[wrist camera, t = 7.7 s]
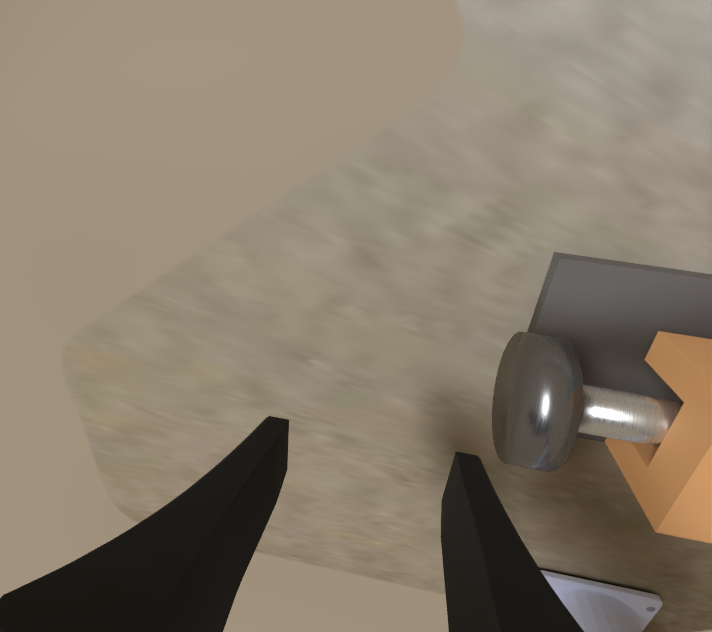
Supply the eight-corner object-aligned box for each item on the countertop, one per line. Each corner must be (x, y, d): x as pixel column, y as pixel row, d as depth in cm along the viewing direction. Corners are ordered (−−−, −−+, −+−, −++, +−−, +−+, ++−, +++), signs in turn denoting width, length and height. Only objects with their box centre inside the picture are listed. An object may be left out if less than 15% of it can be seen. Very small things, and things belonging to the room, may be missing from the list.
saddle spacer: (676, 454, 18) (748, 550, 14) (604, 441, 18) (655, 532, 14) (742, 344, 15) (853, 421, 11) (658, 331, 16) (738, 402, 12)
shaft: (751, 453, 18) (857, 563, 14) (486, 405, 19) (504, 494, 15) (821, 357, 16) (977, 453, 11) (516, 310, 17) (548, 380, 12)
